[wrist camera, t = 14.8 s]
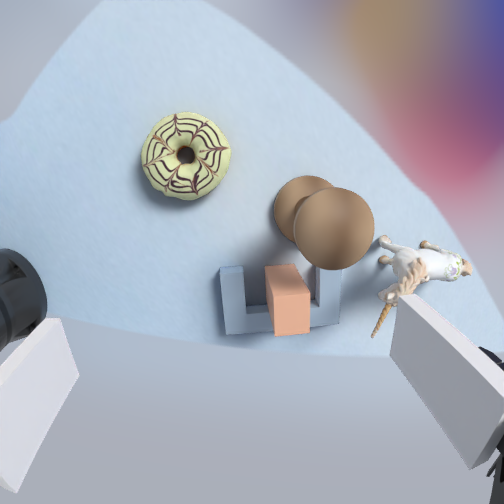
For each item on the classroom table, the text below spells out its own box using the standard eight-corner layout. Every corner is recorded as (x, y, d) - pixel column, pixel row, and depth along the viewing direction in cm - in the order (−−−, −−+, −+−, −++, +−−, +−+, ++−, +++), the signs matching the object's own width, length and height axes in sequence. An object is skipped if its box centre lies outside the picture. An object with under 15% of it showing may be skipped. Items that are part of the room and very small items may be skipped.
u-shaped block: (226, 326, 46) (226, 334, 44) (220, 267, 43) (219, 273, 41) (334, 315, 47) (339, 323, 44) (336, 258, 44) (341, 263, 42)
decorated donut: (201, 212, 41) (198, 217, 38) (133, 170, 39) (123, 171, 36) (245, 143, 39) (246, 142, 36) (175, 101, 37) (169, 96, 33)
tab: (266, 299, 45) (274, 336, 36) (264, 266, 44) (273, 296, 34) (294, 297, 45) (309, 332, 36) (293, 263, 44) (310, 293, 34)
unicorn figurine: (330, 244, 43) (368, 280, 31) (443, 217, 43) (500, 239, 31) (336, 291, 45) (371, 338, 33) (444, 260, 45) (496, 291, 33)
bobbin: (275, 245, 43) (291, 279, 31) (272, 177, 40) (288, 184, 28) (339, 240, 43) (376, 270, 31) (339, 174, 41) (379, 182, 29)
